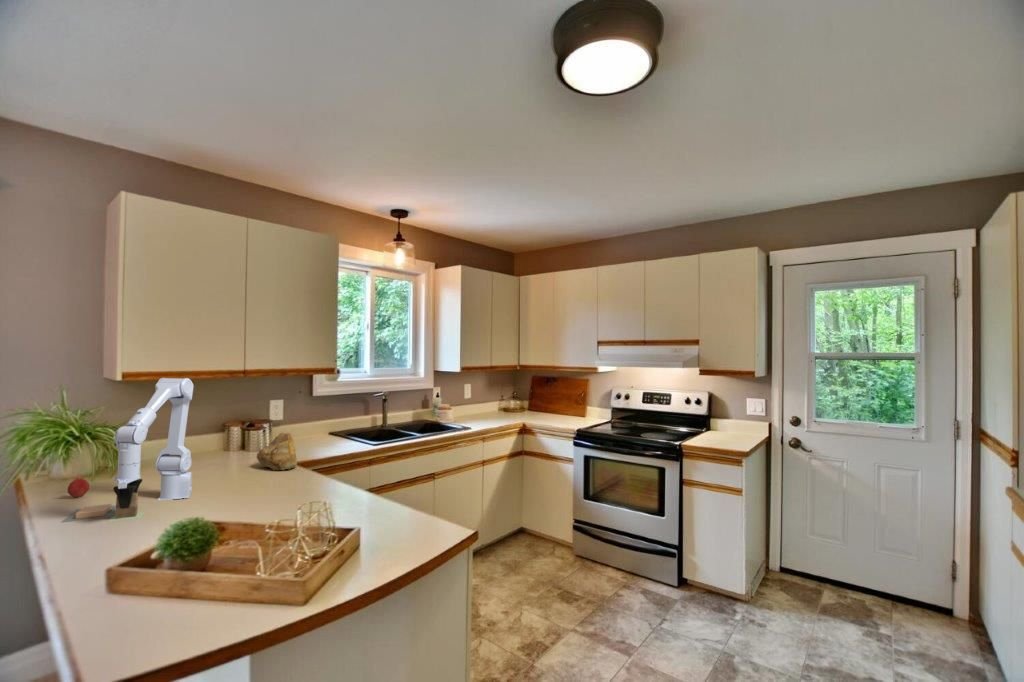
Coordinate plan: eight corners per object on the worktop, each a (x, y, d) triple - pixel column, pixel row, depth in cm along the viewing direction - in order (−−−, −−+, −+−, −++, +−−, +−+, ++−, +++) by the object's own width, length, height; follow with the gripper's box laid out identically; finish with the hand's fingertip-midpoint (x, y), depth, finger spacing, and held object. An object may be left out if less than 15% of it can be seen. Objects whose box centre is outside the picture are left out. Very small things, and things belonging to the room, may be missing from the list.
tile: (111, 503, 159) (104, 510, 152) (111, 508, 159) (104, 516, 152) (84, 506, 156) (75, 513, 149) (84, 511, 156) (75, 519, 149)
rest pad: (144, 513, 157) (144, 511, 157) (139, 519, 150) (139, 518, 150) (113, 516, 153) (113, 515, 153) (107, 523, 147) (107, 521, 147)
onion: (63, 501, 168) (64, 478, 168) (73, 496, 173) (74, 474, 173) (82, 500, 169) (84, 477, 169) (92, 495, 175) (93, 473, 175)
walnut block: (137, 514, 154) (138, 492, 155) (135, 516, 152) (136, 494, 152) (117, 516, 152) (118, 494, 152) (115, 518, 150) (116, 496, 150)
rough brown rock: (257, 465, 230) (255, 434, 230) (294, 459, 238) (293, 430, 238) (257, 477, 210) (255, 444, 209) (298, 471, 218) (296, 438, 217)
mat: (125, 505, 164) (125, 504, 164) (113, 518, 152) (113, 516, 152) (77, 510, 158) (77, 509, 158) (60, 523, 146) (60, 522, 146)
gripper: (120, 459, 157) (118, 500, 157) (106, 469, 145) (104, 513, 144) (146, 458, 161) (144, 498, 160) (135, 467, 148) (133, 510, 147)
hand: (127, 505), depth 152 cm, fingers open, 5 cm apart
